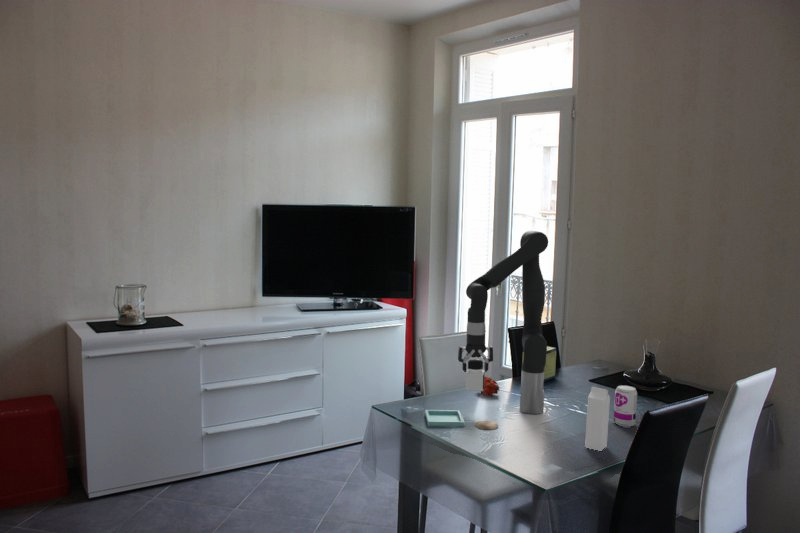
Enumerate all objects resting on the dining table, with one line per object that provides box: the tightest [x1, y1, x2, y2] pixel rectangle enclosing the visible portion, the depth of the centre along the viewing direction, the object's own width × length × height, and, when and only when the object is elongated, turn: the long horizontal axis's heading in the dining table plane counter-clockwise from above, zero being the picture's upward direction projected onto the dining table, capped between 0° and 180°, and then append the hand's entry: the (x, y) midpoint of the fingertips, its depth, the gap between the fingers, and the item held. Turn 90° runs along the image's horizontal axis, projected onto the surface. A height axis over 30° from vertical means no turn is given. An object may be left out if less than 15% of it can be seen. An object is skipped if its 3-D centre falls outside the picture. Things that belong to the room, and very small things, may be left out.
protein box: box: [521, 345, 557, 383], centre depth 326 cm, size 10×16×16 cm
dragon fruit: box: [479, 376, 500, 397], centre depth 298 cm, size 8×8×12 cm
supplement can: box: [613, 384, 638, 427], centre depth 263 cm, size 8×8×15 cm
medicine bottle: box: [465, 358, 486, 392], centre depth 270 cm, size 7×7×12 cm
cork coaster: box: [474, 420, 499, 431], centre depth 257 cm, size 9×9×1 cm
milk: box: [584, 386, 611, 452], centre depth 237 cm, size 6×6×22 cm
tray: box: [424, 409, 465, 428], centre depth 262 cm, size 14×14×2 cm
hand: (475, 371), depth 270 cm, fingers closed on medicine bottle, 8 cm apart
